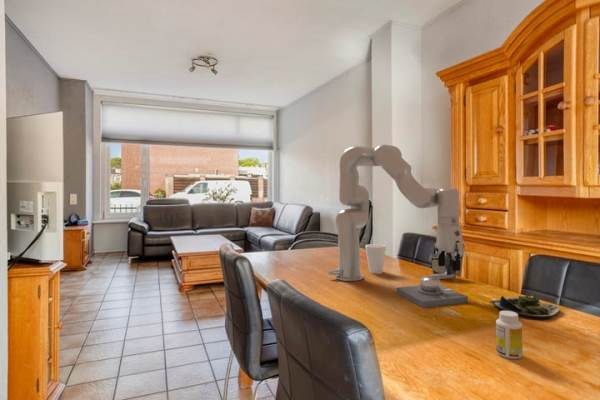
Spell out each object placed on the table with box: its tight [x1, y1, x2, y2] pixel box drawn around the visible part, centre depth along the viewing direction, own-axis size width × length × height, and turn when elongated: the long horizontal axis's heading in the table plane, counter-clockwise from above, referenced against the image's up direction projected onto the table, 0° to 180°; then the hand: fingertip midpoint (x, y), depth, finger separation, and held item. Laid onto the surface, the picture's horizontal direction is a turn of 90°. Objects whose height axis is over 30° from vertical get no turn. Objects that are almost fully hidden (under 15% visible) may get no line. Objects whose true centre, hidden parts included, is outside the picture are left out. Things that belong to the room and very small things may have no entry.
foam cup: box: [365, 243, 387, 275], centre depth 173 cm, size 10×9×13 cm
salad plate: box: [489, 295, 561, 321], centre depth 119 cm, size 19×18×5 cm
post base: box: [395, 284, 469, 308], centre depth 133 cm, size 18×18×3 cm
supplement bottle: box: [495, 310, 523, 360], centre depth 87 cm, size 6×6×10 cm
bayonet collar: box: [419, 252, 455, 292], centre depth 133 cm, size 13×9×14 cm
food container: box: [429, 253, 457, 280], centre depth 161 cm, size 12×6×10 cm, turn 84°
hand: (448, 267), depth 135 cm, fingers open, 7 cm apart
